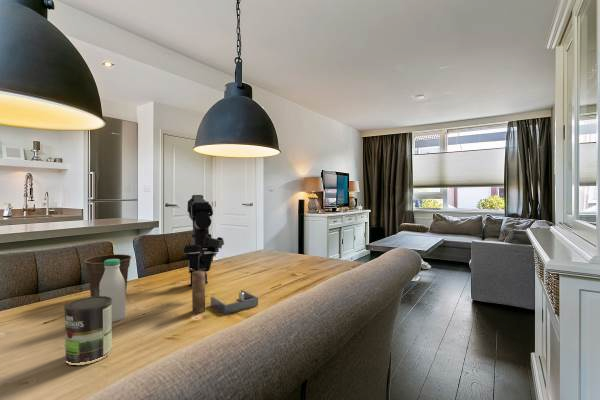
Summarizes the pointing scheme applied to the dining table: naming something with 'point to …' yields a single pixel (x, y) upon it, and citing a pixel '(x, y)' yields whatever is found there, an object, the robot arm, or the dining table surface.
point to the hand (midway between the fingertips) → (202, 271)
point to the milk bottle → (114, 288)
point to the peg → (198, 291)
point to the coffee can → (88, 328)
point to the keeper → (236, 303)
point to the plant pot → (97, 270)
